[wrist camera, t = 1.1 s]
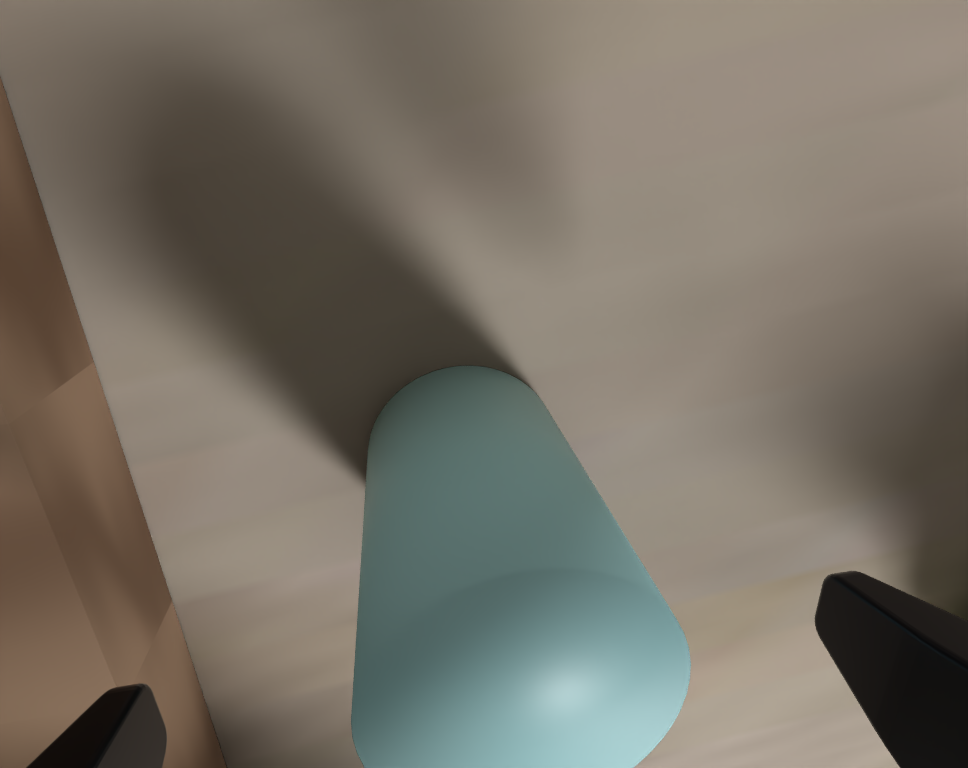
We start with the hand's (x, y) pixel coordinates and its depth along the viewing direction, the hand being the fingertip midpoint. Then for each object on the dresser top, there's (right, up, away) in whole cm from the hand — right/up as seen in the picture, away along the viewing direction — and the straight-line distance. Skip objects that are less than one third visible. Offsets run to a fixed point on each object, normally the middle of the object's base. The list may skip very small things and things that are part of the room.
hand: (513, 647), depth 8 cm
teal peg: (-1, +2, +5) cm, 5 cm away
